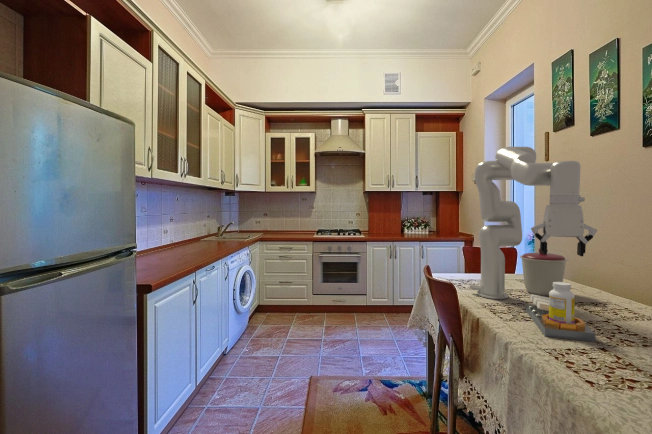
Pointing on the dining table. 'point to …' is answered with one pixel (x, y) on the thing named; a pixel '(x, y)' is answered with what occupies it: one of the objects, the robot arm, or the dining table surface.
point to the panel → (557, 331)
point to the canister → (542, 271)
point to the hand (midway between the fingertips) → (561, 254)
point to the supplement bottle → (562, 303)
